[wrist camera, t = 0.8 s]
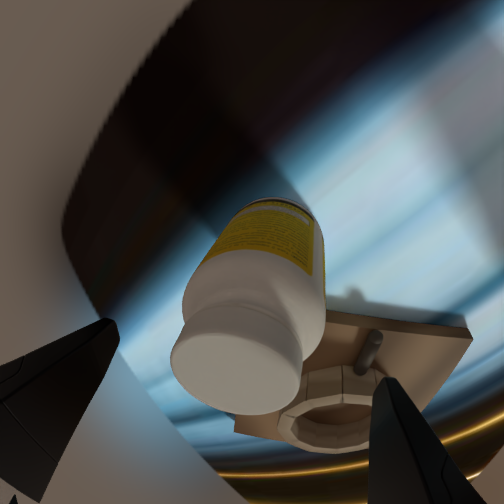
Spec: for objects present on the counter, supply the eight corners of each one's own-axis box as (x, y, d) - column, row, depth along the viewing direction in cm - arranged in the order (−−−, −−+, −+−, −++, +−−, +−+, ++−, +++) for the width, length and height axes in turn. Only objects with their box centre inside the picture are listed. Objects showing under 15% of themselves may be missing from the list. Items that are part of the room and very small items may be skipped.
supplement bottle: (211, 219, 17) (116, 332, 8) (297, 178, 15) (274, 277, 6) (256, 294, 19) (210, 431, 10) (338, 264, 17) (349, 412, 8)
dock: (469, 326, 17) (486, 361, 13) (386, 439, 24) (388, 468, 21) (251, 294, 19) (237, 333, 15) (236, 422, 26) (227, 452, 23)
